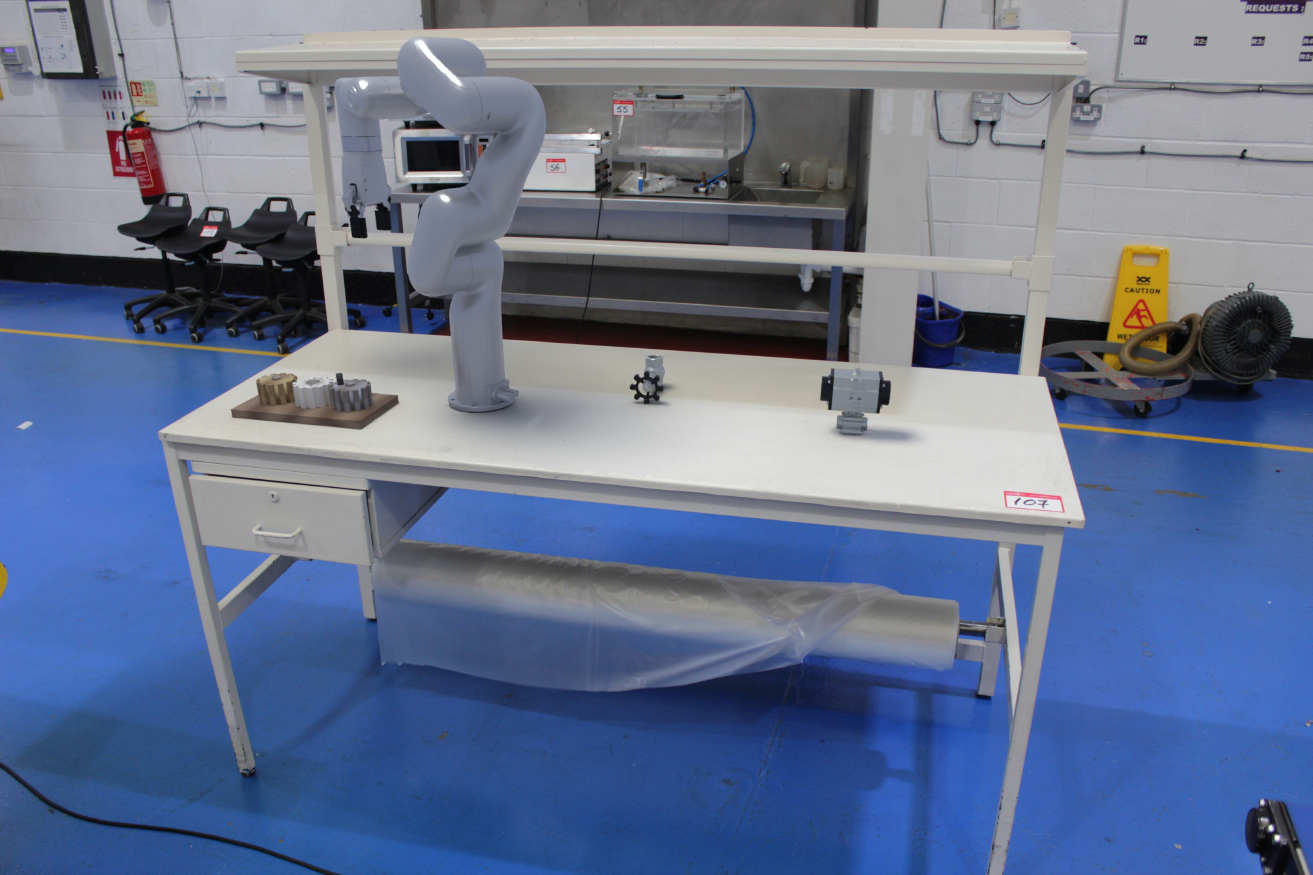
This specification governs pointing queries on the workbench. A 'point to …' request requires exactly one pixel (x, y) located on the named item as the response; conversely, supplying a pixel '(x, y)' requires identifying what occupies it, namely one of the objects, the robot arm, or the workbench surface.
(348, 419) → the gear board
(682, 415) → the workbench surface
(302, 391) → the gear
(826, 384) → the pneumatic valve
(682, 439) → the workbench surface
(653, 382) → the valve
